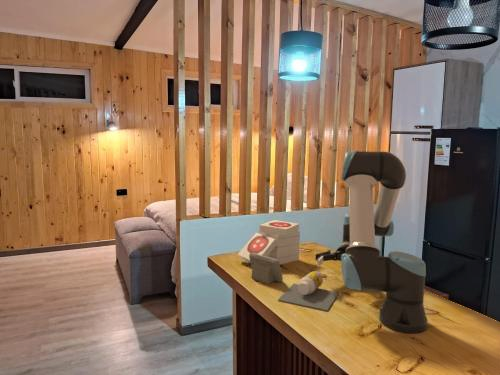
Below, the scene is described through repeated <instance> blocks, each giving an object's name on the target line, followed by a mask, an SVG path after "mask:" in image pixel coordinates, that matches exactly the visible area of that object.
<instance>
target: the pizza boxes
mask: <svg viewBox="0 0 500 375" xmlns="http://www.w3.org/2000/svg"><path fill="white" fill-rule="evenodd" d="M300 238H301V231H300V223H298V222H297V223H296V222H290V221H283V220H276V219H272V220H270V221H267V222H264V223H261V224H259V228H258V232H255V233H254V234H253V236H252V237H251V238H250V239H249V240H248V242H247V243H246V244H245V245H244V246H243V247H242V248H241V250H240V251H239V252H238V253H237V256H238V257H239V258H240V259H241V260H243V261H246V262H248V263H250V264H251V262H250V258H249V254H250V253H255V254H259V255H263V256H267V257H270V258H274V259H277V260H279V263H280V265H283V264H287V263H293V262H296V261H299V260H300V246H301V244H300V243H301V242H300V241H301V240H300Z"/></svg>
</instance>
